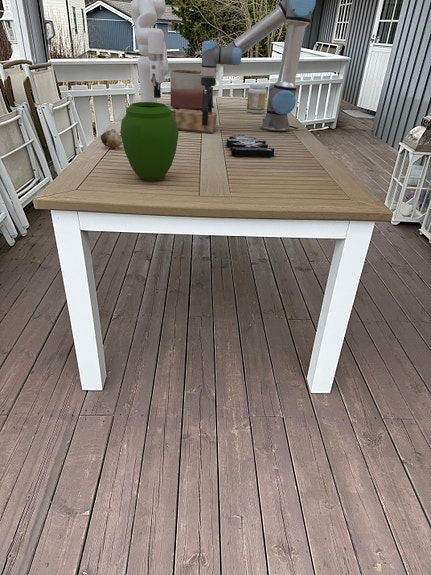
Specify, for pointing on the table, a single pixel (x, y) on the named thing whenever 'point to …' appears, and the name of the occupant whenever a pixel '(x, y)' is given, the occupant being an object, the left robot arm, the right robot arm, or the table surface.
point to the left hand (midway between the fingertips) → (157, 97)
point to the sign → (248, 147)
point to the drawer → (173, 114)
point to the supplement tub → (256, 98)
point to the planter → (186, 89)
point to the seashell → (111, 139)
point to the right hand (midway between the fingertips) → (206, 123)
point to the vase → (149, 139)
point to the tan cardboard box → (195, 121)
